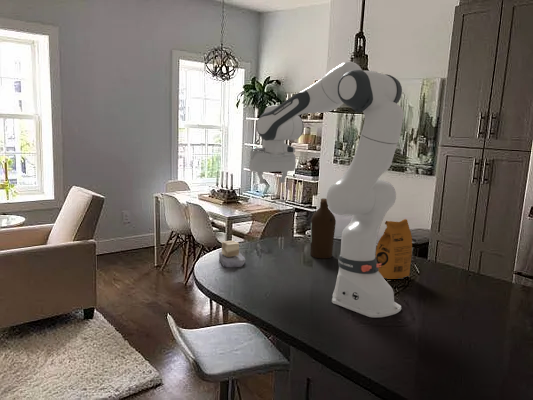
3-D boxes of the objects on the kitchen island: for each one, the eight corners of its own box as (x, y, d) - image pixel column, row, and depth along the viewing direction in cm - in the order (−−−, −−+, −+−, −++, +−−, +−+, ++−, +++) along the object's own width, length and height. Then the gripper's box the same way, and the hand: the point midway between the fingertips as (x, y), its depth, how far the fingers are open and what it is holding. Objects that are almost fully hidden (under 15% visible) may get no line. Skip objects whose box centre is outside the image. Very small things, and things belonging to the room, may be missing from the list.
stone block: (239, 262, 183) (216, 259, 180) (242, 251, 183) (219, 248, 179) (246, 272, 172) (222, 269, 169) (249, 261, 171) (224, 257, 168)
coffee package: (369, 274, 167) (374, 218, 164) (394, 271, 173) (399, 216, 169) (388, 283, 159) (393, 224, 155) (413, 279, 164) (418, 221, 161)
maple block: (238, 255, 174) (239, 243, 173) (227, 257, 171) (227, 244, 170) (232, 252, 178) (233, 240, 177) (221, 253, 175) (222, 241, 174)
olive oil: (336, 254, 193) (340, 198, 189) (328, 260, 183) (332, 201, 179) (314, 250, 198) (317, 196, 193) (305, 256, 188) (308, 199, 184)
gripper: (255, 148, 163) (254, 184, 165) (298, 148, 174) (297, 182, 176) (246, 147, 168) (245, 183, 170) (289, 147, 179) (288, 181, 182)
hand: (272, 182), depth 173 cm, fingers open, 8 cm apart
